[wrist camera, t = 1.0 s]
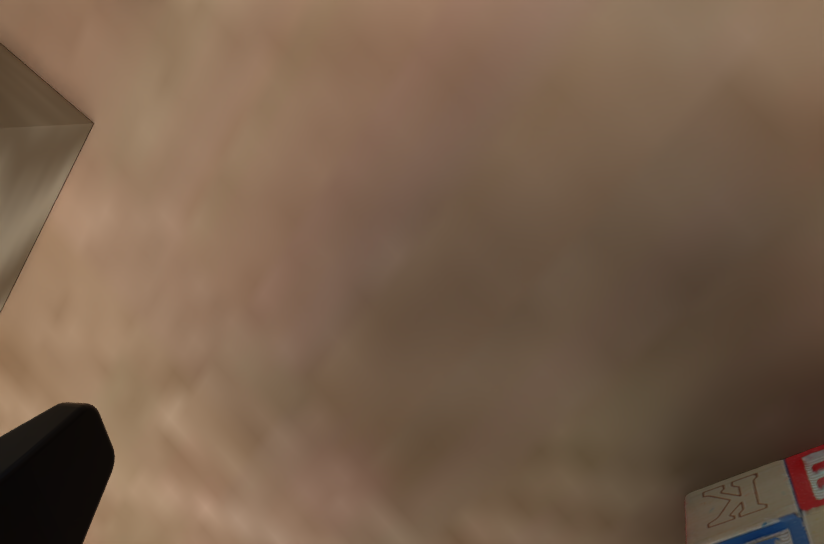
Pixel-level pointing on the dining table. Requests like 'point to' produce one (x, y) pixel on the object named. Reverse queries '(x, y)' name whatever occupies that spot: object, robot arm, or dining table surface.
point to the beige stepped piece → (31, 159)
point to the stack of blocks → (762, 505)
